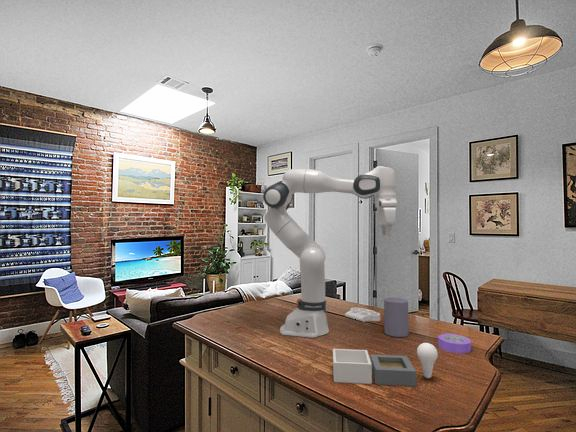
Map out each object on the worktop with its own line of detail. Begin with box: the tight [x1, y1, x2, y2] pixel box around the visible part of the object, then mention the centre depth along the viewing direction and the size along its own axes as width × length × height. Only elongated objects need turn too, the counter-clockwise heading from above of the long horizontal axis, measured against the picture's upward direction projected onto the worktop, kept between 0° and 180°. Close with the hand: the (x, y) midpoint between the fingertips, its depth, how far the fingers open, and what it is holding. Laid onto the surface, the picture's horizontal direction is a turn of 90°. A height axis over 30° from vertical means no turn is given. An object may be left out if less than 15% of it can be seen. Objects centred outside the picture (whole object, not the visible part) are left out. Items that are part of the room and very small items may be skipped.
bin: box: [332, 348, 373, 385], centre depth 110 cm, size 12×12×6 cm
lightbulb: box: [416, 342, 439, 379], centre depth 107 cm, size 6×6×11 cm
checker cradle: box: [370, 354, 417, 387], centre depth 108 cm, size 12×12×4 cm
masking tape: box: [437, 333, 472, 354], centre depth 133 cm, size 12×12×4 cm
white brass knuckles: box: [344, 307, 381, 323], centre depth 176 cm, size 3×18×15 cm
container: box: [383, 297, 410, 338], centre depth 150 cm, size 10×10×15 cm
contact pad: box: [379, 362, 403, 368], centre depth 108 cm, size 7×7×1 cm
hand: (386, 235), depth 145 cm, fingers open, 8 cm apart
